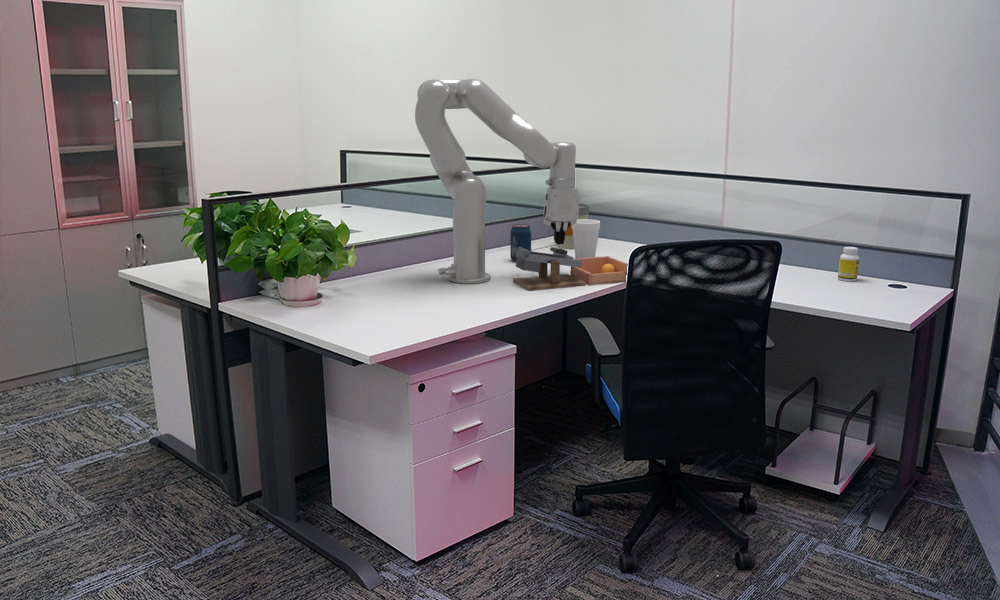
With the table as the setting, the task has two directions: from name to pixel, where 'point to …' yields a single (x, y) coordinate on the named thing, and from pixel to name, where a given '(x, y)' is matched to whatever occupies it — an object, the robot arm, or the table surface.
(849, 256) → the supplement bottle
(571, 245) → the reusable coffee cup
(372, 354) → the table surface
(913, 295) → the table surface
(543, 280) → the lever stand
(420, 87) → the robot arm
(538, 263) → the lever
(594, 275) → the bin
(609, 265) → the ball
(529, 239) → the soda can
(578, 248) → the foam cup
